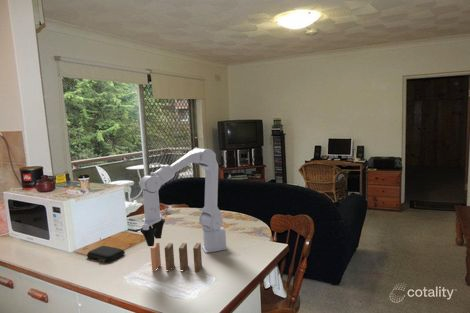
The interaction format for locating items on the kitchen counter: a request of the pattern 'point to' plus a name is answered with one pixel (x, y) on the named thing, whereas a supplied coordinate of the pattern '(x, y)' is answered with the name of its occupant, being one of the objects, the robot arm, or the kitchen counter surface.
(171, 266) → the domino
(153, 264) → the end domino
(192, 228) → the kitchen counter surface
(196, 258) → the domino
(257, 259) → the kitchen counter surface
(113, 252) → the carrying case or bag
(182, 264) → the domino
